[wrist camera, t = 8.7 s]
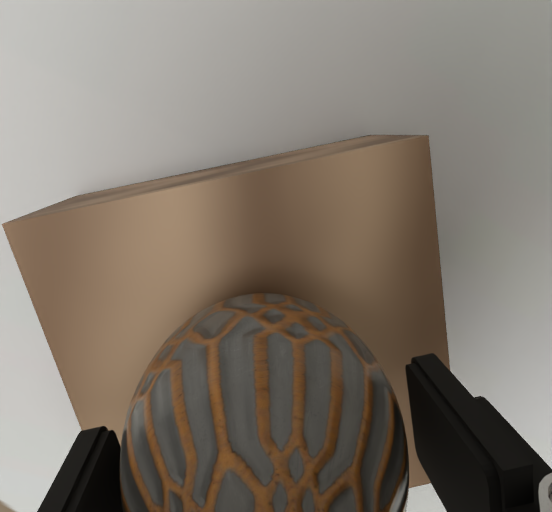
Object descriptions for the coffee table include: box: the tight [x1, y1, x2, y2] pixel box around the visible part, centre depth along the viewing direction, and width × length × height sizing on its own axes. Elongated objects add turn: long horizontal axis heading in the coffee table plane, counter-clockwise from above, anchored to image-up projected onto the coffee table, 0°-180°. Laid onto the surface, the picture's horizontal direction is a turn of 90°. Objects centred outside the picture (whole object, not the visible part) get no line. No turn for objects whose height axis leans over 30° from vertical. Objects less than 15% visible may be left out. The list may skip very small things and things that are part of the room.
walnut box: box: [2, 135, 450, 488], centre depth 18 cm, size 13×13×6 cm
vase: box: [120, 293, 409, 512], centre depth 10 cm, size 7×7×9 cm
